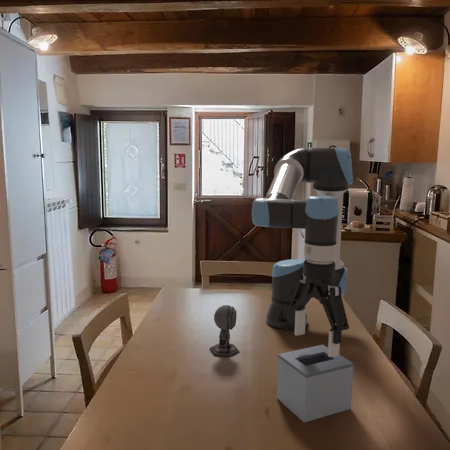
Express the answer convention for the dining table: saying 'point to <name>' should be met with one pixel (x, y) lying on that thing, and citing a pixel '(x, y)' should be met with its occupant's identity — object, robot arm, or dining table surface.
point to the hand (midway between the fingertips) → (315, 344)
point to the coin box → (314, 382)
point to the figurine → (225, 331)
